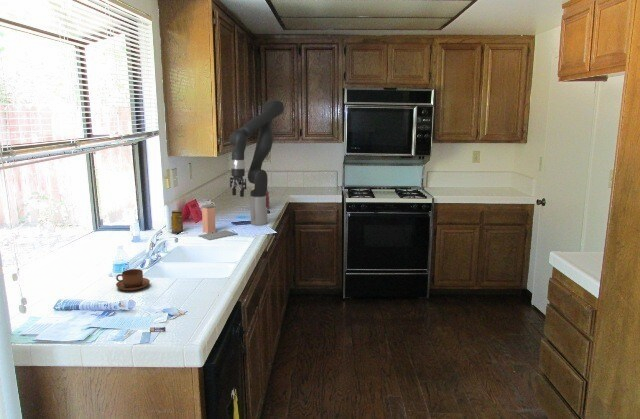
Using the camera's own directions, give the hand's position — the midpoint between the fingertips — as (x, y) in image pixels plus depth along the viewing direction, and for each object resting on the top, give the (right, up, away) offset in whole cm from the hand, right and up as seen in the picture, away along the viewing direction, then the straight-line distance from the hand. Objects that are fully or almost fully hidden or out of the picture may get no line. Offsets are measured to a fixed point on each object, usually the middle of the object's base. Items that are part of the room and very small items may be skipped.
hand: (238, 196), depth 278 cm
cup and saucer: (-24, -38, -93) cm, 103 cm away
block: (-15, -20, -7) cm, 26 cm away
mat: (-8, -22, -14) cm, 28 cm away
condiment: (-32, -21, -9) cm, 39 cm away
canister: (+5, -7, +61) cm, 62 cm away
